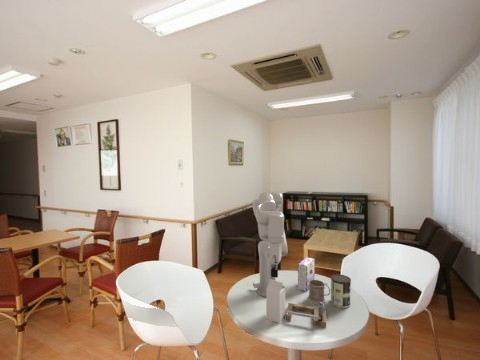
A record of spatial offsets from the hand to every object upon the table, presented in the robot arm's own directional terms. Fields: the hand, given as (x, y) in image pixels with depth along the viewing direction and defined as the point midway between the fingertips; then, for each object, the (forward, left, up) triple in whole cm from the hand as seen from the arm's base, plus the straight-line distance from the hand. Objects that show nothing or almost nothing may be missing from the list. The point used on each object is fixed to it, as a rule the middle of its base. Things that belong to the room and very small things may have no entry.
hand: (276, 273), depth 126 cm
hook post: (+21, 0, -21) cm, 30 cm away
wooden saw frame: (+14, +5, -23) cm, 28 cm away
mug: (+21, +22, -23) cm, 39 cm away
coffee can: (+32, +24, -23) cm, 46 cm away
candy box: (+13, +38, -23) cm, 47 cm away
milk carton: (0, 0, -23) cm, 23 cm away
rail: (+14, 0, -23) cm, 27 cm away
